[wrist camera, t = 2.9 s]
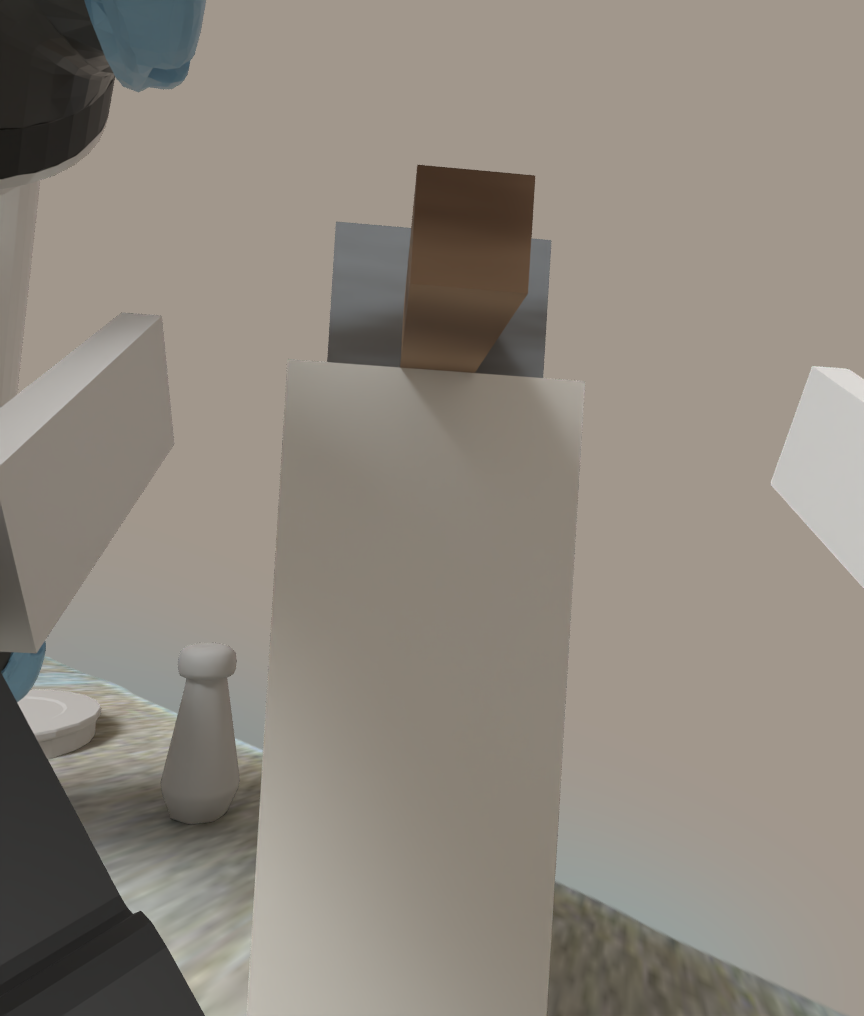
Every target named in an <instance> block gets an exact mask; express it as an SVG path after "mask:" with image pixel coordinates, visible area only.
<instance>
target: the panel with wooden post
mask: <svg viewBox="0 0 864 1016" xmlns="http://www.w3.org/2000/svg"><path fill="white" fill-rule="evenodd" d="M534 187H535V176H532V175H522V174H511V173H500V172H490V171H479V170H468V169H457V168H447V167H446V168H445V167H435V166H425V165H418V166H417V175H416V185H415V195H414V196H415V197H414V206H413V216H412V227H411V228H403V227H391V226H380V225H368V224H356V223H345V222H336V231H335V248H334V263H333V279H332V296H331V312H330V327H329V344H328V359H327V362H332V363H346V364H359V365H373V366H386V367H400V368H413V369H427V370H440V371H454V372H467V373H481V374H494V375H508V376H521V377H535V378H543V370H544V353H545V336H546V321H547V303H548V288H549V270H550V254H551V240H542V239H531V237H532V236H531V235H532V220H533V202H534Z"/></svg>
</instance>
